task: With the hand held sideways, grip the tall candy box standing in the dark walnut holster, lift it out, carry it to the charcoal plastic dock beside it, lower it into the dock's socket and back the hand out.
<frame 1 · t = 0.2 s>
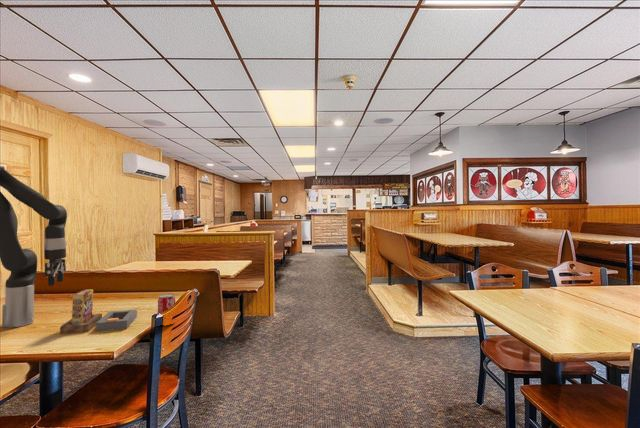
hand: (56, 283, 141), 17 cm above the table, tool pointing down, fingers open, 8 cm apart
dock: (117, 323, 139), on the table
soda can: (166, 324, 139), on the table
candy box: (82, 327, 135), resting in holster
holster: (82, 326, 135), on the table
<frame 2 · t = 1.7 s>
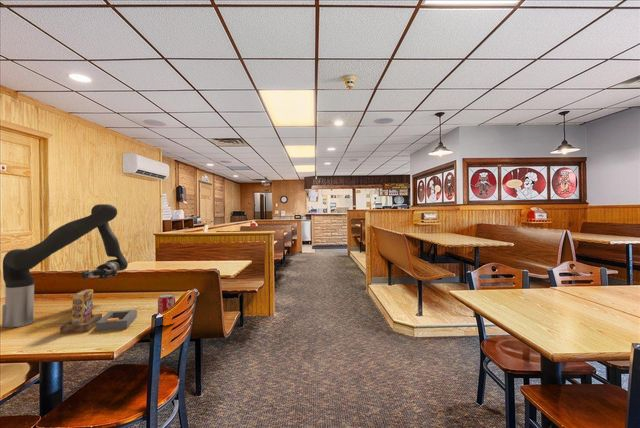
hand: (94, 276, 148), 20 cm above the table, tool horizontal, fingers open, 8 cm apart
nothing on the table moved.
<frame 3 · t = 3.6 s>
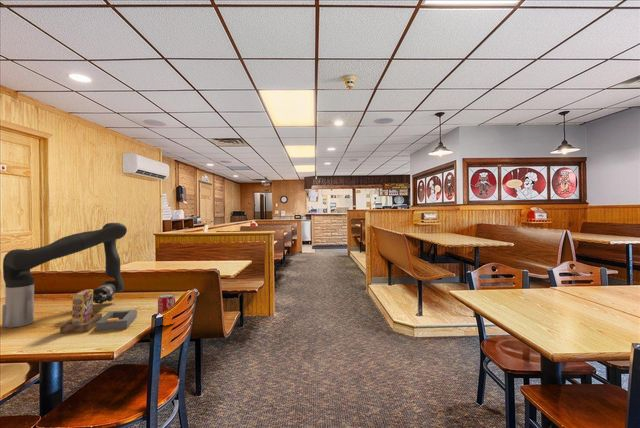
hand: (89, 302, 142), 9 cm above the table, tool horizontal, fingers open, 8 cm apart
nothing on the table moved.
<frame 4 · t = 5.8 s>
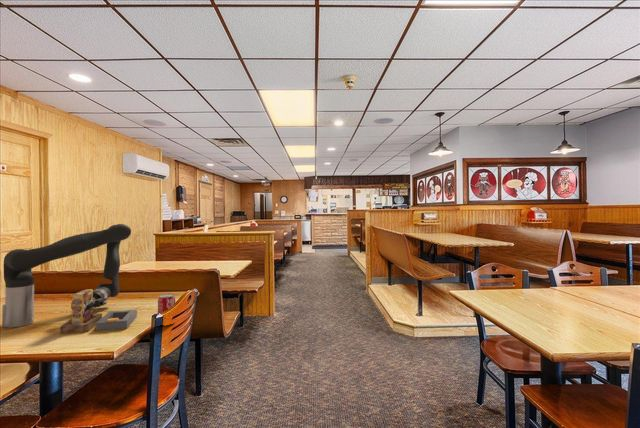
hand: (81, 308, 134), 9 cm above the table, tool horizontal, fingers closed on candy box, 4 cm apart
candy box: (82, 326, 135), resting in holster, touching gripper
everything else where it was.
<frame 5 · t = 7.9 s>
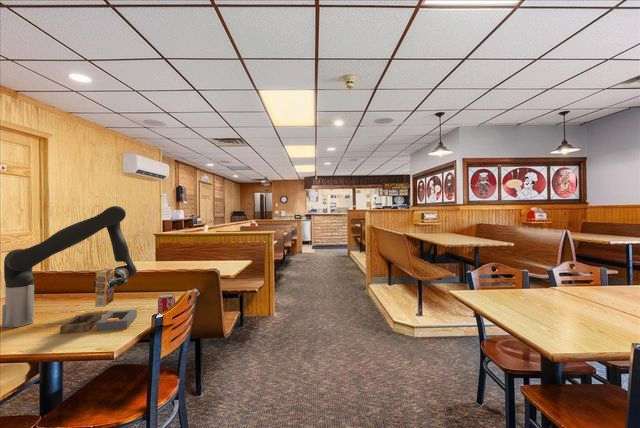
hand: (104, 285, 137), 18 cm above the table, tool horizontal, fingers closed on candy box, 4 cm apart
candy box: (105, 304, 138), point 9 cm above the table, touching gripper
everything else where it was.
when the fingers open (9 cm above the table, at t = 10.2 s): candy box stays where it is, resting in dock.
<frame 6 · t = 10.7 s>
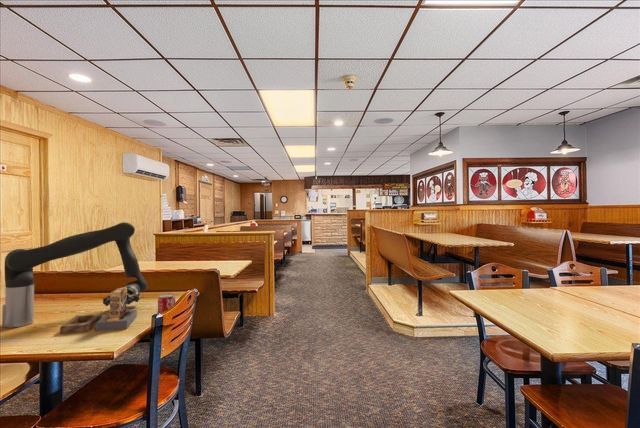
hand: (117, 303, 139), 10 cm above the table, tool horizontal, fingers open, 8 cm apart
candy box: (118, 323, 140), resting in dock
everything else where it was.
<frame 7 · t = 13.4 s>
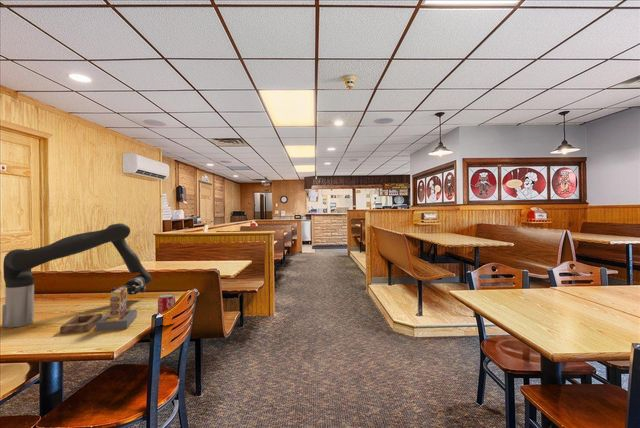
hand: (125, 292, 151), 11 cm above the table, tool horizontal, fingers open, 8 cm apart
nothing on the table moved.
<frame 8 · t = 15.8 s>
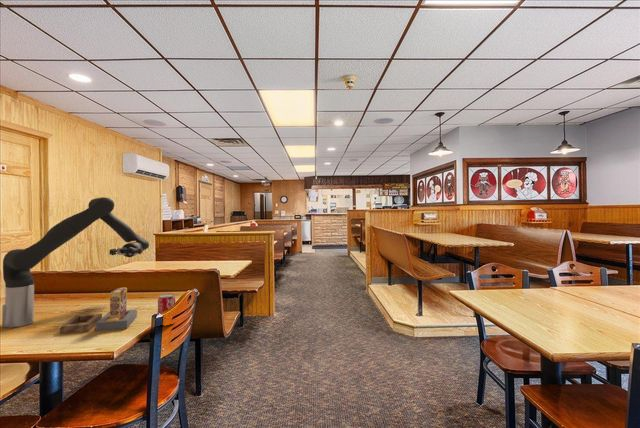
hand: (122, 252, 155), 30 cm above the table, tool horizontal, fingers open, 8 cm apart
nothing on the table moved.
at the end: candy box 0.1 cm off-centre on the dock, point 0.0 cm above the dock's base; candy box tilted 0°; the gripper is holding nothing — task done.
